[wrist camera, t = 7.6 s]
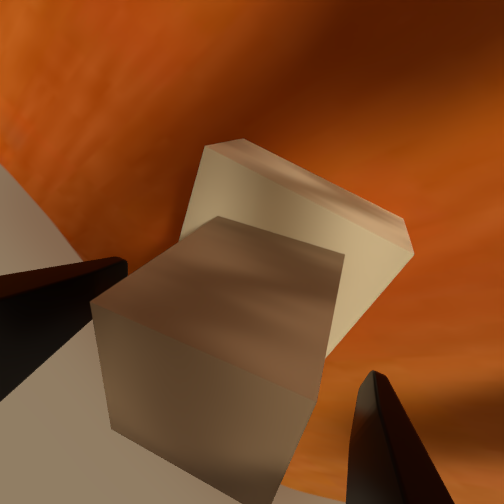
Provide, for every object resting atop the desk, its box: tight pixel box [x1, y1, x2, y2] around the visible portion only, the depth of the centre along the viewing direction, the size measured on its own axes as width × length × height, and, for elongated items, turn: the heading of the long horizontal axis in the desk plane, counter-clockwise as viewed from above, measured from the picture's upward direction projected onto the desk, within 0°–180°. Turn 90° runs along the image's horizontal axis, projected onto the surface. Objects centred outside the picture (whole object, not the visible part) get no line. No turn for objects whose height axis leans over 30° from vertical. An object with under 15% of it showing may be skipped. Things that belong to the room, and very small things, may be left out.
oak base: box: [179, 138, 414, 358], centre depth 13 cm, size 8×8×4 cm
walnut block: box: [90, 216, 345, 504], centre depth 9 cm, size 5×5×6 cm
